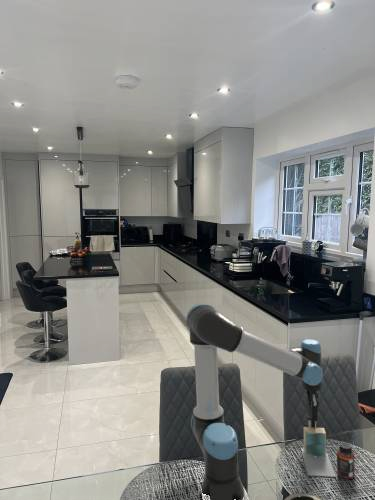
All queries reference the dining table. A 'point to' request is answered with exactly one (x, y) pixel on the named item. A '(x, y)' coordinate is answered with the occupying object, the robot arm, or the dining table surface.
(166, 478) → the dining table surface
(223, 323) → the robot arm
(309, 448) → the small box
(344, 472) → the supplement bottle
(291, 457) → the dining table surface
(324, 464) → the grey mat
